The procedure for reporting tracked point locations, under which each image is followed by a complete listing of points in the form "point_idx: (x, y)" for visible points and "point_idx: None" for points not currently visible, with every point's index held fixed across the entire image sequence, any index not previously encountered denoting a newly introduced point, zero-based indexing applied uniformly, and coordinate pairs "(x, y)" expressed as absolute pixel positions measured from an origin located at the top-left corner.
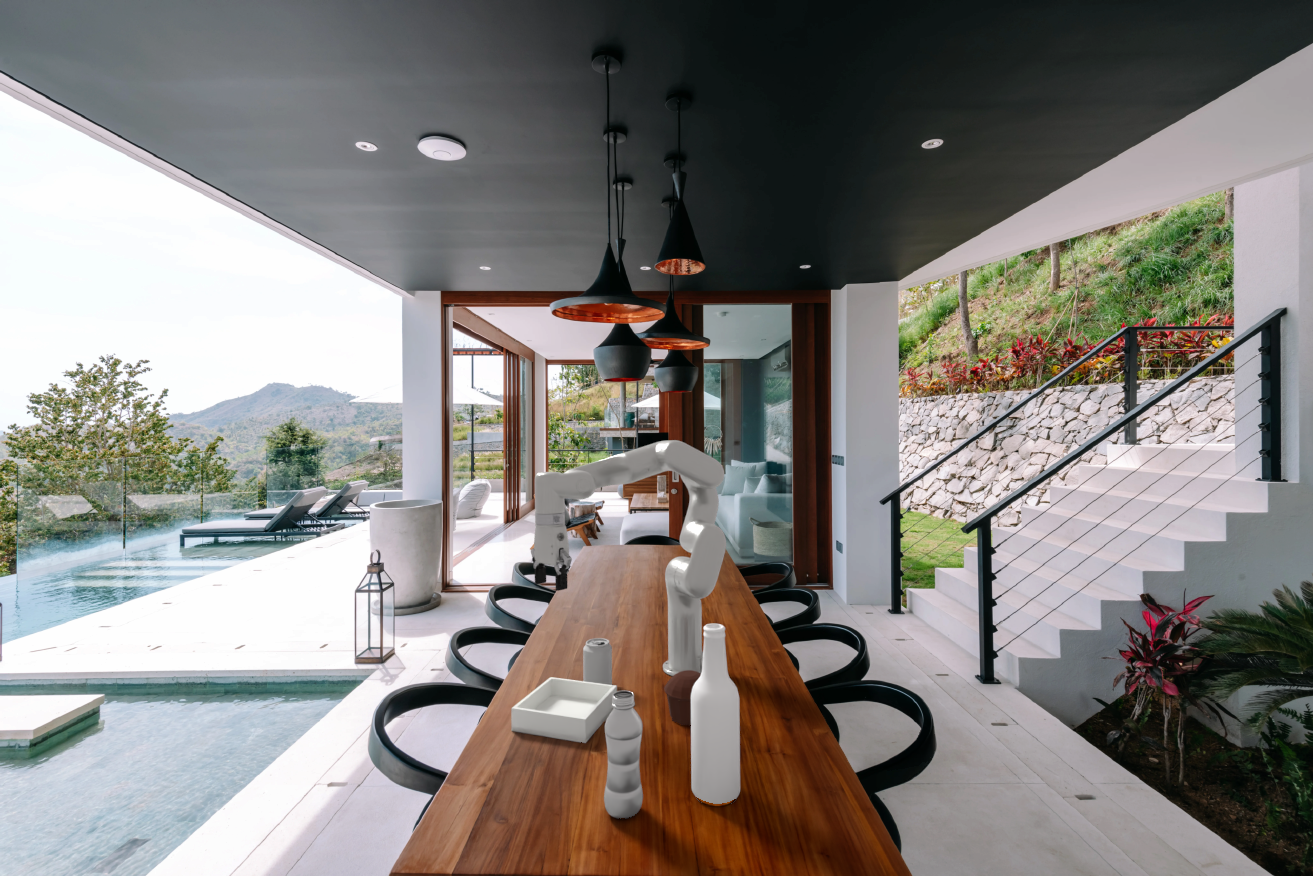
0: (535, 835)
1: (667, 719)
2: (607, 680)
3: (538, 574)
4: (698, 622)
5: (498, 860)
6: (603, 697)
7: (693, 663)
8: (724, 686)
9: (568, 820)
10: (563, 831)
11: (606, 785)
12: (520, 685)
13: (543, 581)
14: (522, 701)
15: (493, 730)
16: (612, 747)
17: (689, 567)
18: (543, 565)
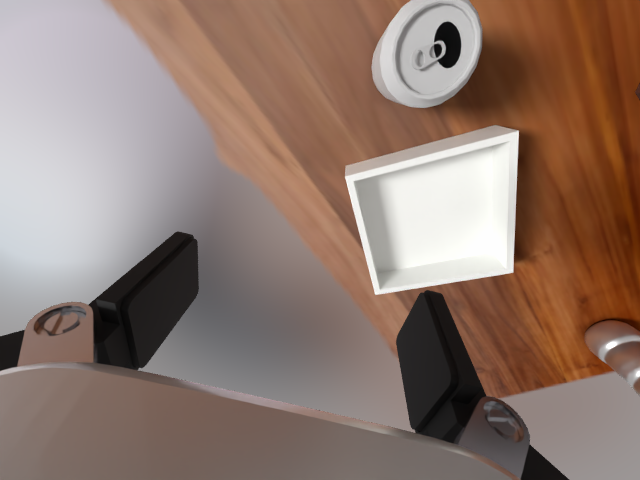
0: (520, 372)
1: (630, 113)
2: (447, 67)
3: (163, 326)
4: None
5: (504, 394)
6: (511, 196)
7: None
8: None
9: (542, 353)
10: (544, 362)
11: (604, 360)
12: (257, 158)
13: (192, 259)
14: (374, 274)
15: (349, 282)
16: None
17: None
18: (95, 338)
